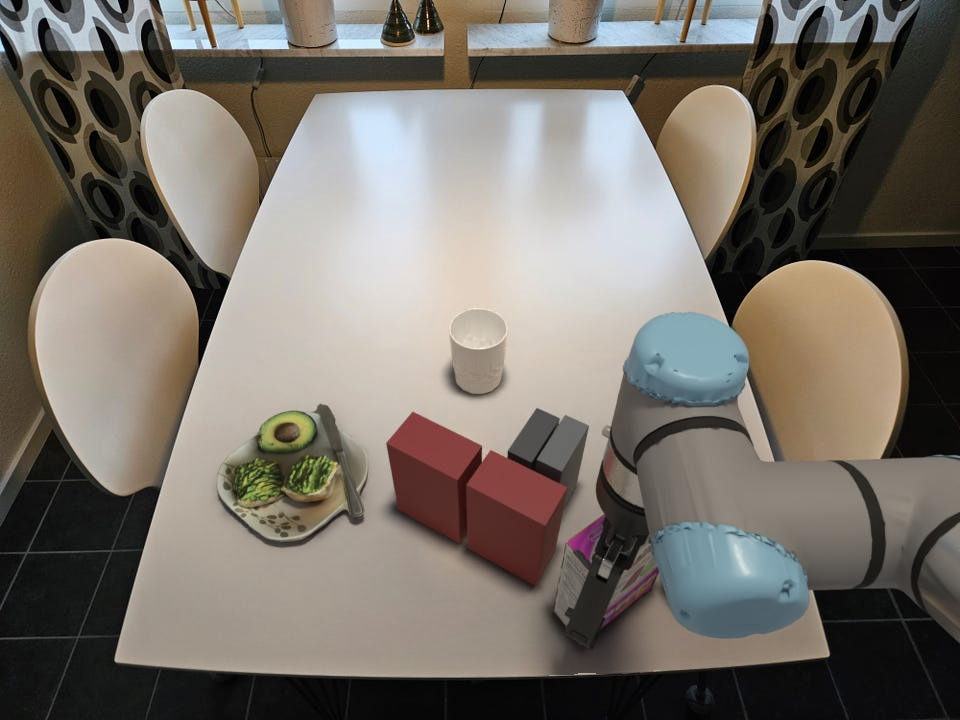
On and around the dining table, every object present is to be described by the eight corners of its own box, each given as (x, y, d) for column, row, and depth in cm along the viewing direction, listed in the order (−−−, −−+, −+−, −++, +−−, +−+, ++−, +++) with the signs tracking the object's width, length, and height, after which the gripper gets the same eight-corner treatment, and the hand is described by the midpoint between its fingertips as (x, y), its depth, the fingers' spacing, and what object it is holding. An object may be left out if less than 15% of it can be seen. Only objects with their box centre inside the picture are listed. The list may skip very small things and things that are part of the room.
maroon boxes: (535, 586, 73) (545, 526, 62) (397, 509, 79) (385, 443, 69) (555, 550, 75) (567, 487, 65) (420, 479, 82) (412, 411, 72)
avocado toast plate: (411, 479, 82) (408, 458, 79) (298, 581, 73) (290, 563, 69) (313, 400, 90) (307, 379, 87) (201, 483, 81) (189, 463, 78)
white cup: (514, 368, 95) (517, 319, 87) (489, 405, 90) (491, 357, 83) (467, 350, 97) (466, 300, 90) (441, 385, 92) (437, 336, 85)
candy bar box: (622, 553, 75) (650, 477, 63) (653, 587, 73) (689, 514, 60) (548, 610, 71) (563, 539, 59) (579, 648, 68) (601, 583, 56)
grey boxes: (689, 603, 71) (722, 549, 62) (504, 506, 79) (507, 445, 70) (708, 552, 75) (742, 494, 66) (530, 464, 83) (537, 401, 74)
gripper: (656, 358, 61) (620, 479, 77) (536, 576, 47) (521, 670, 62) (735, 389, 59) (681, 508, 74) (634, 630, 44) (593, 714, 60)
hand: (608, 582), depth 68 cm, fingers open, 13 cm apart
